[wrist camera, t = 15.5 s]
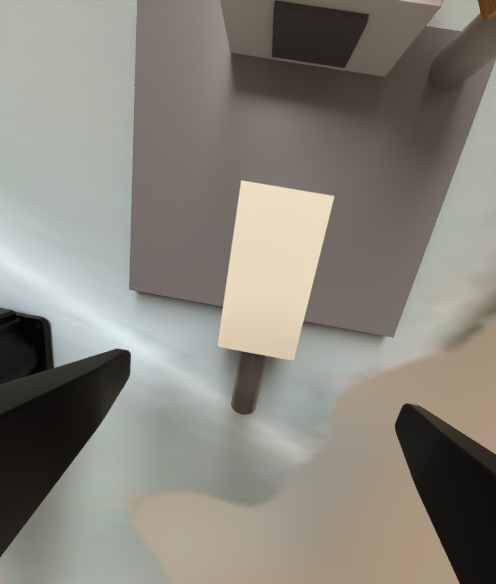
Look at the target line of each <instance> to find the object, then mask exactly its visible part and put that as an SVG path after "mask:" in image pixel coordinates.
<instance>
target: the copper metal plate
mask: <svg viewBox="0 0 496 584" xmlns="http://www.w3.org/2000/svg"><path fill="white" fill-rule="evenodd" d="M478 2H479V7H480V12H481V16H482V21H483V22H484V21H486V20H488V19H490V18H491V17H493V16H495V15H496V0H478Z"/></svg>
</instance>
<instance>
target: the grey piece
mask: <svg viewBox="0 0 496 584" xmlns="http://www.w3.org/2000/svg"><path fill="white" fill-rule="evenodd" d="M442 2H443V0H137V29H136V65H135V101H134V137H133V174H132V210H131V246H130V282H129V290H134V291H140V292H145V293H151V294H156V295H162V296H167V297H173V298H178V299H184V300H189V301H195V302H200V303H206V304H212V305H217V306H223V303H224V296H225V289H226V282H227V276H228V269H229V262H230V255H231V248H232V241H233V234H234V227H235V220H236V213H237V206H238V199H239V192H240V185H241V180H242V181H248V182H254V183H260V184H266V185H272V186H278V187H284V188H289V189H295V190H301V191H307V192H313V193H319V194H325V195H331V196H334V200H333V204H332V208H331V212H330V216H329V220H328V224H327V228H326V232H325V236H324V240H323V244H322V248H321V253H320V257H319V261H318V265H317V269H316V273H315V277H314V281H313V285H312V289H311V293H310V297H309V301H308V305H307V309H306V313H305V317H304V321H305V322H311V323H317V324H322V325H328V326H333V327H339V328H344V329H350V330H355V331H361V332H366V333H372V334H377V335H383V336H388V337H394V334H395V331H396V329H397V326H398V323H399V320H400V318H401V315H402V312H403V310H404V307H405V304H406V302H407V299H408V296H409V293H410V291H411V288H412V285H413V283H414V280H415V277H416V274H417V272H418V269H419V266H420V264H421V261H422V258H423V256H424V253H425V250H426V247H427V245H428V242H429V239H430V237H431V234H432V231H433V228H434V226H435V223H436V220H437V218H438V215H439V212H440V210H441V207H442V204H443V201H444V199H445V196H446V193H447V191H448V188H449V185H450V182H451V180H452V177H453V174H454V172H455V169H456V166H457V164H458V161H459V158H460V155H461V153H462V150H463V147H464V145H465V142H466V139H467V136H468V134H469V131H470V128H471V126H472V123H473V120H474V118H475V115H476V112H477V109H478V107H479V104H480V101H481V99H482V96H483V93H484V90H485V88H486V85H487V82H488V80H489V77H490V74H491V72H492V69H493V66H494V63H495V61H496V15H495V16H493V17H491V18H490V19H488V20H486V21H484V22H483V21H482V16H481V13H480V14H479V15H478V16H477V17H476V18H475V19H474V20H473V21H472V22H471V23H470V24H469V25H468V26H467V27H466V28H465V29H464V30H463V31H462V32H461V31H455V30H448V29H441V28H435V27H428V26H426V25H427V23H428V22H429V21H430V20H431V18H432V17H433V16H434V15H435V13H436V12H437V11H438V10H439V8H440V7H441V5H442Z"/></svg>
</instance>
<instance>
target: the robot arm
mask: <svg viewBox="0 0 496 584" xmlns="http://www.w3.org/2000/svg"><path fill="white" fill-rule="evenodd" d="M130 364H131V354H130V352H129V351H128V350H123V349H114V350H111V351H108V352H104V353H101V354H98V355H95V356H92V357H88V358H85V359H82V360H79V361H76V362H72V363H69V364H66V365H63V366H60V367H56V368H53V369H51V355H50V342H49V328H48V322H47V320H46V319H45V318H43V317H39V316H34V315H28V314H23V313H18V312H15V311H13V310H9V309H4V308H0V557H1V556H2V554H3V553H4V552H5V550H6V549H7V548H8V546H9V545H10V544H11V542H12V541H13V540H14V538H15V537H16V536H17V534H18V533H19V532H20V530H21V529H22V528H23V526H24V525H25V524H26V522H27V521H28V520H29V518H30V517H31V516H32V514H33V513H34V512H35V510H36V509H37V508H38V507H39V505H40V504H41V503H42V501H43V500H44V499H45V497H46V496H47V495H48V493H49V492H50V491H51V489H52V488H53V487H54V485H55V484H56V483H57V481H58V480H59V479H60V477H61V476H62V475H63V473H64V472H65V471H66V469H67V468H68V467H69V465H70V464H71V463H72V461H73V460H74V459H75V457H76V456H77V455H78V453H79V452H80V451H81V449H82V448H83V447H84V445H85V444H86V443H87V441H88V440H89V439H90V437H91V436H92V435H93V433H94V432H95V431H96V429H97V428H98V427H99V425H100V424H101V422H102V421H103V419H104V418H105V416H106V415H107V413H108V411H109V410H110V408H111V407H112V405H113V403H114V402H115V400H116V398H117V397H118V395H119V393H120V392H121V390H122V389H123V387H124V385H125V384H126V382H127V380H128V378H129V376H130ZM395 430H396V434H397V437H398V440H399V442H400V445H401V448H402V451H403V454H404V456H405V459H406V462H407V465H408V467H409V470H410V473H411V476H412V478H413V481H414V484H415V486H416V488H417V491H418V493H419V495H420V497H421V499H422V502H423V504H424V506H425V508H426V511H427V513H428V515H429V517H430V519H431V522H432V524H433V526H434V528H435V530H436V533H437V535H438V537H439V539H440V541H441V544H442V546H443V548H444V550H445V552H446V555H447V557H448V559H449V561H450V563H451V566H452V568H453V570H454V572H455V574H456V576H457V579H458V581H459V583H460V584H496V454H494V453H493V452H491V451H489V450H488V449H486V448H485V447H483V446H482V445H480V444H478V443H477V442H475V441H474V440H472V439H471V438H469V437H468V436H466V435H464V434H463V433H461V432H460V431H458V430H457V429H455V428H453V427H452V426H451V425H449V424H447V423H446V422H444V421H443V420H441V419H440V418H438V417H437V416H435V415H433V414H432V413H430V412H429V411H427V410H426V409H424V408H422V407H421V406H418V405H413V404H408V403H407V404H404V405H403V406H402V408H401V411H400V413H399V416H398V418H397V420H396V423H395Z"/></svg>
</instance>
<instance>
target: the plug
mask: <svg viewBox="0 0 496 584" xmlns="http://www.w3.org/2000/svg"><path fill="white" fill-rule="evenodd" d="M333 200H334V196H331V195H325V194H319V193H313V192H307V191H301V190H295V189H289V188H284V187H278V186H272V185H266V184H260V183H254V182H248V181H242V180H241V185H240V192H239V199H238V206H237V213H236V220H235V227H234V234H233V241H232V248H231V255H230V262H229V269H228V276H227V282H226V289H225V296H224V303H223V310H222V317H221V324H220V331H219V338H218V345H217V347H221V348H227V349H232V350H238V351H240V356H239V362H238V368H237V374H236V379H235V385H234V391H233V396H232V402H231V406H232V408H233V409H234V410H235V411H236V412H237V413H240V414H245V415H246V414H251V413H252V412H254V410H255V407H256V402H257V398H258V393H259V388H260V383H261V379H262V374H263V369H264V365H265V360H266V356H270V357H275V358H281V359H286V360H292V361H294V357H295V353H296V349H297V345H298V341H299V337H300V333H301V329H302V325H303V321H304V317H305V313H306V309H307V305H308V301H309V297H310V293H311V289H312V285H313V281H314V277H315V273H316V269H317V265H318V261H319V257H320V253H321V248H322V244H323V240H324V236H325V232H326V228H327V224H328V220H329V216H330V212H331V208H332V204H333Z"/></svg>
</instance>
